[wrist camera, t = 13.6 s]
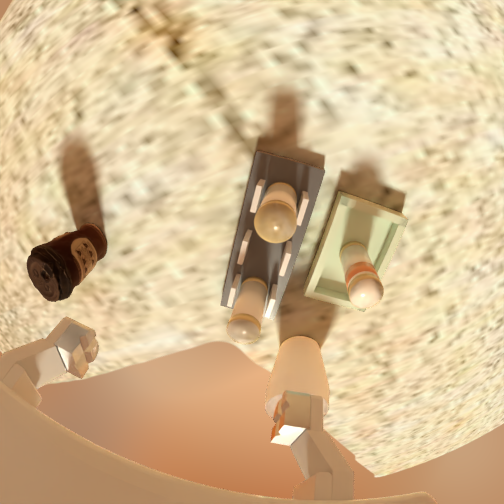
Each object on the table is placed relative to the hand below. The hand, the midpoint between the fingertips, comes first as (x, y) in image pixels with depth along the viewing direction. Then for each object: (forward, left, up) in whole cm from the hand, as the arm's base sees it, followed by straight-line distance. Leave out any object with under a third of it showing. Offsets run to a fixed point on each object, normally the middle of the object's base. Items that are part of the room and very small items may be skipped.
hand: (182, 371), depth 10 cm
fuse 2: (-1, +2, -25) cm, 26 cm away
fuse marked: (+4, +13, -26) cm, 30 cm away
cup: (+23, +12, -27) cm, 37 cm away
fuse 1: (+12, +2, -25) cm, 28 cm away
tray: (+4, +13, -27) cm, 30 cm away
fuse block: (+6, +2, -27) cm, 28 cm away
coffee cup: (+14, -25, -27) cm, 39 cm away
